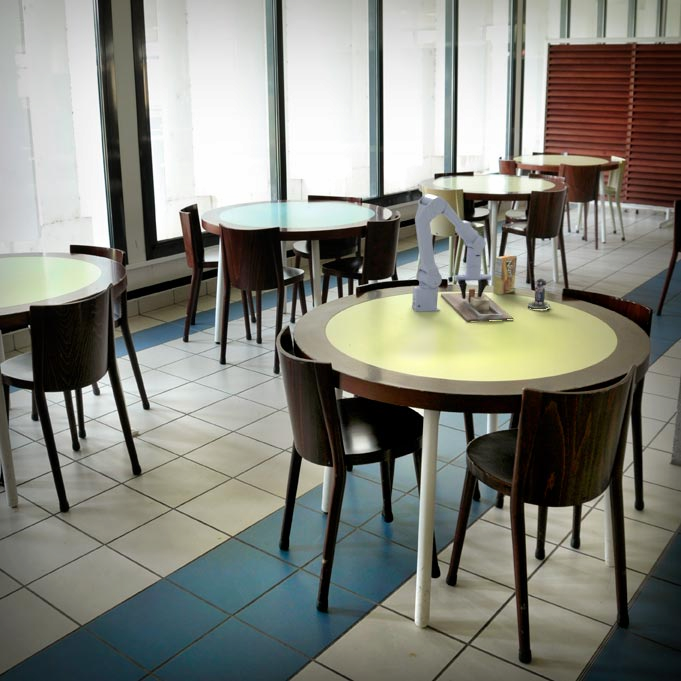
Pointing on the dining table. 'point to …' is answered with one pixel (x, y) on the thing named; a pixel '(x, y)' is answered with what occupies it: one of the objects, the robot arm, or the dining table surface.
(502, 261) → the candy box
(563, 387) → the dining table surface
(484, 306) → the joystick
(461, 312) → the thin wooden panel
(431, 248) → the robot arm
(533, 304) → the figurine
